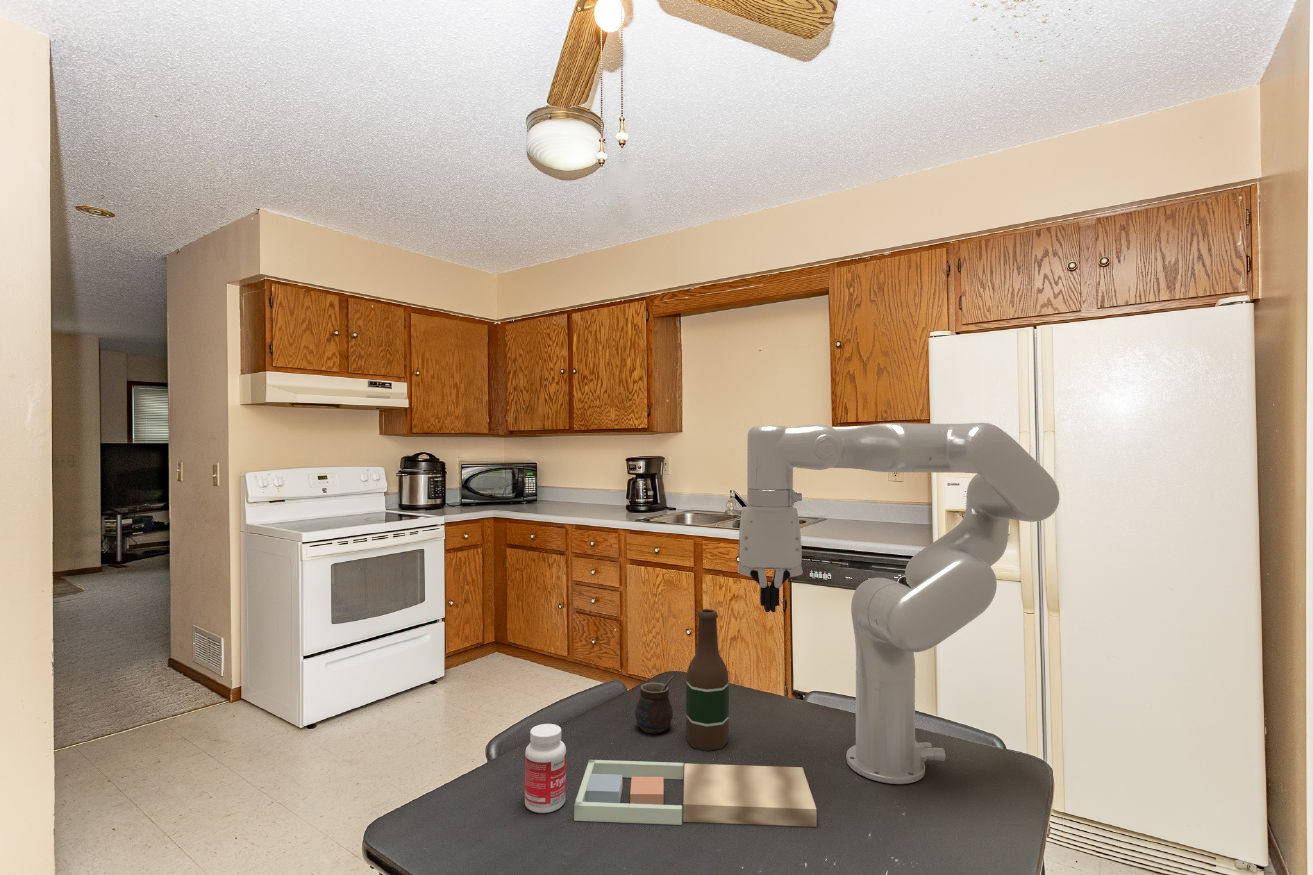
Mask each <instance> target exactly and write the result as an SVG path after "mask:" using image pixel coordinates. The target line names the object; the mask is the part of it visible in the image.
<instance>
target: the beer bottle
mask: <svg viewBox="0 0 1313 875" xmlns="http://www.w3.org/2000/svg"><path fill="white" fill-rule="evenodd" d="M697 617H698V629H697V643H696V644H697V646H696V651H695V655H694V656H693V658H692V659H691V661H690V662H689V665H688V668H687V670H686V680H685V682H686V683H685V684H686V686H685V690H686V691H685V692H686V693H685V694H686V696H685V698H686V699H685V700H686V701H685V703H686V705H685V706H686V707H685V709H686V710H685V712H686V713H685V720H686V721H685V722H686V724H685V732H686V740H687V742H688V743H689V744H690V745H691V747H692V748H693V749H697V750H700V751H705V752H709V751H717V750H722V749H723V748H724V747H725V746H726V745H727V743H728V742H729V731H730V730H729V729H730V728H729V726H730V724H729V722H730V720H729V719H730V718H729V717H730V715H729V714H730V708H729V707H730V706H729V705H730V693H729V692H730V689H729V687H730V683H729V670H728V669H727V665H726V663H725V662H724V660H723V658H722V657H721V656H720V650H719V643H718V642H719V640H718V626H717V624H718V623H717V618H719V616H718V612H717V611H716V610H714V609H712V608H711V609H709V608H705V609H701V610H699V611H698V613H697Z"/></svg>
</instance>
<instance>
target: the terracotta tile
mask: <svg viewBox="0 0 1313 875" xmlns="http://www.w3.org/2000/svg"><path fill="white" fill-rule="evenodd" d="M664 781H665V779H664V777H632V778H631V781H630V792H629V798H630V800H629V801H630V802H629V804H655V805H665V804H664V800H665V799H664V796H665V794H664V792H665V790H664V788H665V787H664V786H665V785H664Z"/></svg>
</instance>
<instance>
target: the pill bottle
mask: <svg viewBox="0 0 1313 875" xmlns="http://www.w3.org/2000/svg"><path fill="white" fill-rule="evenodd" d="M529 734H530V735H529V739H530V743H528V745H527V746H526V748H525V752H524V754H525V755H524V804H525V805H524V806H525V807H526V808H527V809H528V810H529V811H531V812H534V813H538V814H549V813H552V812H554V811H557V810H558V809H561V807H563V806H564V804H565V803H566V797H567V796H566V795H567V793H566V792H567V791H566V790H567V788H566V787H567V785H566V784H567V782H566V781H567V780H566V779H567V773H566V772H567V747H566V744H565V743H564V742H563V741H562V728H561V727H560V726H559V725H558V724H554V723H553V724H552V723H543V724H538V725H536V726H535V725H534V726H533V727H532V728H531V729H530V732H529Z"/></svg>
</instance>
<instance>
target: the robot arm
mask: <svg viewBox="0 0 1313 875" xmlns="http://www.w3.org/2000/svg"><path fill="white" fill-rule="evenodd" d="M746 446H747V453H746V454H747V458H746V460H747V462H746V463H747V467H746V468H747V470H746V472H747V476H746V477H747V478H746V481H747V482H746V484H747V485H746V487H747V491H746V492H747V494H746V497H747V500H746V501H747V502H746V506H743V507H742V509H741V513H740V521H739V529H738V530H739V532H738V533H739V534H738V560H739V561H738V565H737V570H736V571H737V573H738V574H740V575H743V576H745V577H746V576H747V577H751V578H752V579H753V580H754V581H755V582H756V583H757V584H758V585H759V587H760V589H759V590H760V593H759V596H760V597H759V598H760V599H759V600H760V601H759V604H760V606H763V609H764V611H765V613H770V612H771V613H777V612H776V610H777V608H776V607H779V606H780V588H781V587H782V585H783V584H784V583H785V582H786V581H787V580H788V579H789V578H794V577H799V576H801V575H803V574H804V572H803V570H804V569H803V567H802V566H803V565H802V560H803V559H802V558H803V555H802V554H803V550H802V537H801V527H800V526H801V525H800V519H799V512H798V509H797V507H794V505H795V504H796V503H798V502H802V500H803V494H802V493H801V492H796V491H795V490H794V468H797V469H804V470H805V469H808V470H814V471H816V470H817V471H822V470H828V469H854V470H855V469H856V470H864V471H871V472H876V473H896V474H897V473H899V474H900V473H942V474H943V473H950V474H951V473H952V474H953V473H959V474H960V473H964V474H965V473H966V474H975V475H974V476H973V477H972V478H971V480H970V481H969V483H968V485H967V488H966V500H965V501H966V503H965V504H966V506H965V511H964V512H965V513H964V516H963V517H962V520H961V521H960V522H959V523H958V524H957V525H956V526H955V527H953V528H952V529H951V530H949V532H947V533H946V534H943V535H942V536H940V537H939V538H938V539H936V540H935V541H933V542H932V543H930V544H929V545H928V546H926V547H924V548H922V550H920V551H918V552H917V553H915V554H914V555H913V556H912V557H911V558H910V559H909V561H908V563H907V564H906V567H905V570H904V576H905V579H906V582H907V584H908V586H907V585H906V584H903V583H900V582H898V581H896V580H893V579H890V578H886V577H872V578H869V579H866V580H865V581H862V582H861V583H860V584H859V585H858V586H857V587H856V589H855V591H854V592H853V595H852V599H851V605H850V612H851V613H850V614H851V621H852V627H853V632H854V633H853V634H854V644H855V744H854V745H852V746H851V747H849V748H848V749H847V751H846V758H845V759H846V763H847V765H848V766H849V768H851V770H853V771H854V772H855V773H856V774H858V775H860V776H862V777H865V778H867V779H869V780H873V781H876V782H879V783H884V784H890V785H894V784H895V785H906V784H911V783H915V782H917V781H920V780H921V779H922V778H924V776H925V774H926V765H925V763H926V762H927V760H930V761H932V760H933V761H945V760H946V751H945V748H944V747H933V746H932V743H931V742H925V741H924V742H918V741H917V740H916V728H915V727H916V708H915V707H916V704H915V703H916V662H915V659H916V658H915V654H914V653H923V652H925V651H928V650H930V649H932V648H934V647H936V646H937V645H939V644H941V643H942V642H944V641H945V640H946V639H948V638H949V637H951V636H952V635H953V634H955V633H956V632H959V631H960V630H961V629H962V628H964V627H965V626H966V625H968V624H969V623H972V621H974V620H975V619H976V618H978V617H979V616H980V615H982V614H983V613H984V612H985V611H986V610H987V608H989V607H990V605H991V603H992V602H993V600H994V598H995V595H996V592H997V585H998V584H997V577H996V573H995V571H994V570H993V568H992V566H993V565H995V564H997V562H998V561H999V560H1000V559H1001V558H1002V557H1003V556H1004V554H1005V552H1006V550H1007V547H1008V540H1009V528H1010V527H1009V526H1010V520H1016V521H1021V522H1030V523H1031V522H1033V523H1035V522H1036V523H1037V522H1041V521H1045V520H1046V519H1048V518H1050V517H1051V516H1052V515H1053V514H1054V513H1055V512H1056V510H1057V508H1058V506H1059V504H1060V499H1061V498H1060V492H1059V488H1058V485H1057V483H1056V481H1055V480H1054V478H1053V477H1052V476H1051V474H1050V473H1049V472H1048V471H1047V470H1046V469H1045V468H1044V467H1043V466H1042V465H1041V464H1040V463H1039V462H1038V461H1037V460H1036V459H1035V458H1034V457H1033V456H1031V454H1030V453H1029V452H1028V451H1026V449H1024V447H1023V446H1022V445H1020V444H1019V443H1018V441H1016V440H1015V439H1014V438H1013V437H1012V436H1010V434H1008V433H1007V432H1006V431H1004V430H1003V429H1001V428H1000V427H998V426H996V425H995V424H992V423H989V422H972V423H971V422H970V423H912V422H911V423H909V422H908V423H907V422H905V423H904V422H903V423H902V422H887V423H874V424H867V425H859V426H829V425H826V424H810V425H809V424H808V425H798V426H794V427H788V426H785V425H784V426H783V425H756V426H752V427H751V428H750V429H749V430H748V432H747V445H746ZM766 570H773V574H772V580H771V581H770V585H769V582H768V580H767V574H766Z"/></svg>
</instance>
